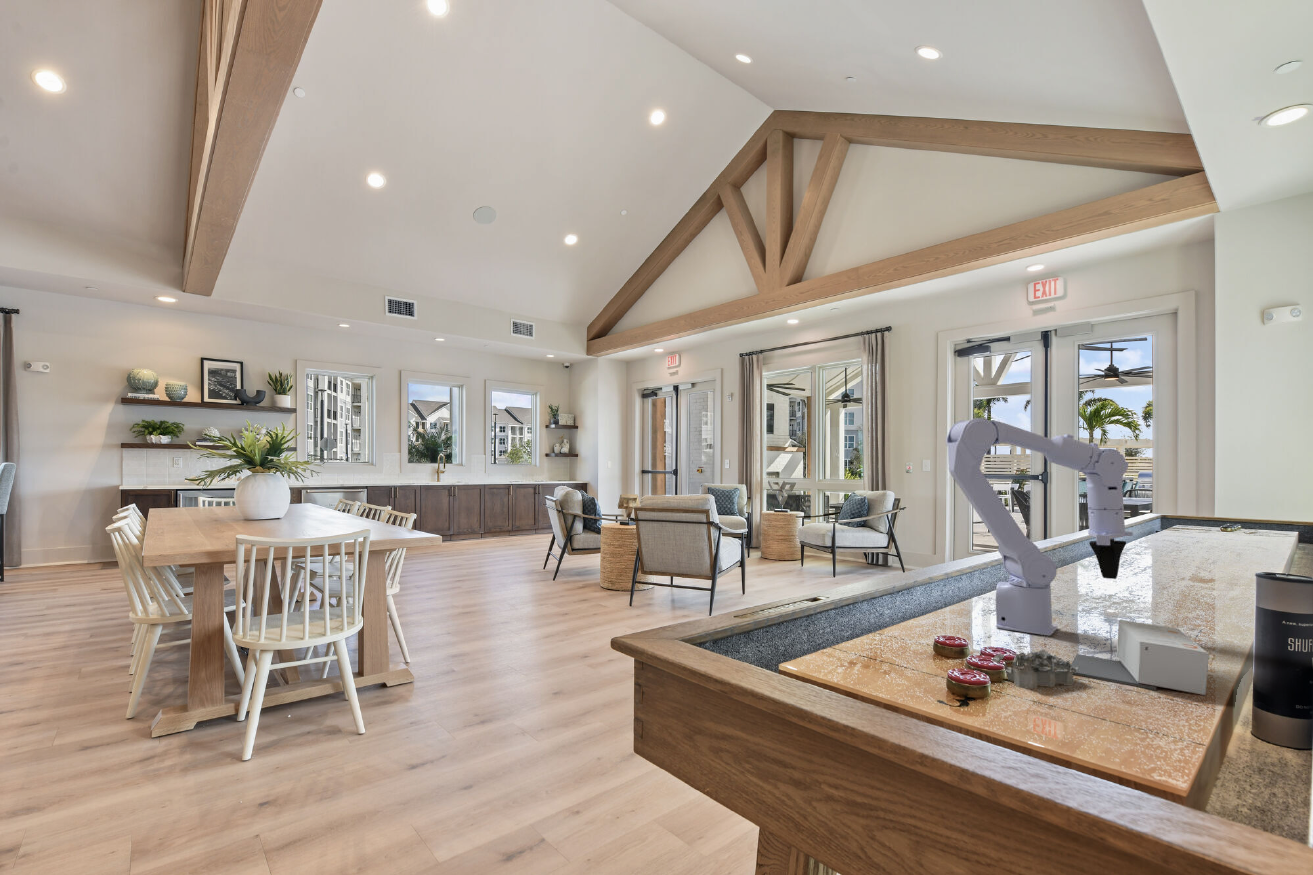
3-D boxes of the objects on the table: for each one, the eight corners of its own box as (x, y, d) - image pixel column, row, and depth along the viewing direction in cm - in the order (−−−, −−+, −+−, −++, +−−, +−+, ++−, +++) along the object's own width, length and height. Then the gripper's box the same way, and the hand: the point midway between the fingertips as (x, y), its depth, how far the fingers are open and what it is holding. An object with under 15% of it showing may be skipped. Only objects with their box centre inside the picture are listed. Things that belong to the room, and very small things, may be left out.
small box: (1115, 656, 102) (1136, 683, 91) (1118, 618, 102) (1139, 640, 91) (1177, 667, 99) (1206, 696, 87) (1179, 628, 99) (1209, 652, 87)
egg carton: (1022, 692, 90) (1021, 664, 90) (988, 675, 97) (987, 649, 97) (1084, 686, 92) (1083, 659, 92) (1046, 670, 99) (1044, 645, 99)
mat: (1066, 673, 97) (1066, 670, 97) (1077, 656, 105) (1077, 654, 105) (1156, 689, 90) (1156, 687, 90) (1159, 670, 98) (1159, 667, 98)
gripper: (1127, 512, 113) (1132, 586, 113) (1134, 506, 124) (1138, 574, 123) (1081, 511, 118) (1086, 582, 117) (1091, 506, 129) (1095, 570, 128)
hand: (1109, 577), depth 121 cm, fingers closed
